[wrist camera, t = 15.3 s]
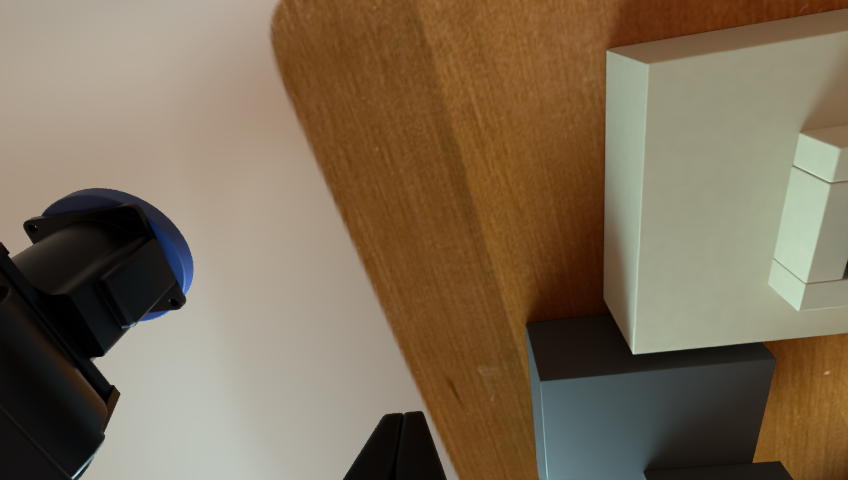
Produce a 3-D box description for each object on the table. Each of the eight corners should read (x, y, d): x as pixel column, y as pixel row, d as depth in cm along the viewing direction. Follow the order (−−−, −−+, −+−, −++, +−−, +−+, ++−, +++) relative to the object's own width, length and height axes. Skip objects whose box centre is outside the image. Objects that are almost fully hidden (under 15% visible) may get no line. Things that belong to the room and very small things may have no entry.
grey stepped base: (538, 482, 31) (558, 584, 25) (525, 323, 25) (548, 413, 19) (718, 469, 29) (779, 574, 24) (750, 298, 23) (841, 386, 18)
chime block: (603, 298, 24) (649, 386, 18) (605, 49, 18) (672, 70, 13) (837, 272, 23) (958, 357, 17) (914, -4, 17) (1127, -3, 12)
